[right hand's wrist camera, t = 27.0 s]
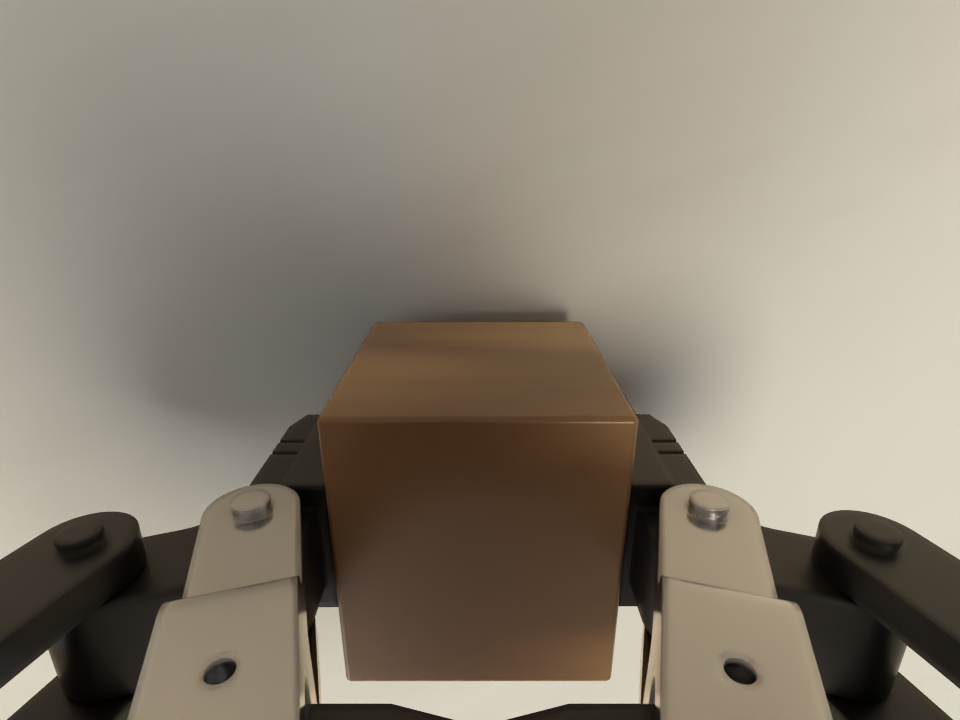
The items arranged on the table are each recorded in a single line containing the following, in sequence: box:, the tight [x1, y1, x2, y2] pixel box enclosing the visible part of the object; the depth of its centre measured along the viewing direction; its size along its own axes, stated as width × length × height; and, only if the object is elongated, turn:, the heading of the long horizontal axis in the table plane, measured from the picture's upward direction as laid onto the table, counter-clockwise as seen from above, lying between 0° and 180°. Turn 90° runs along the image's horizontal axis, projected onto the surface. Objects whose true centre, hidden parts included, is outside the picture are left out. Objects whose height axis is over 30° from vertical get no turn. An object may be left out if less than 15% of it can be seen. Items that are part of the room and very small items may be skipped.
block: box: [317, 322, 638, 681], centre depth 10 cm, size 4×5×4 cm
